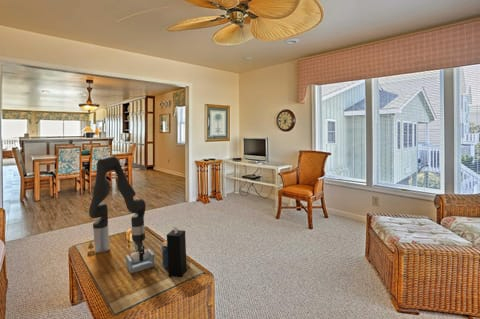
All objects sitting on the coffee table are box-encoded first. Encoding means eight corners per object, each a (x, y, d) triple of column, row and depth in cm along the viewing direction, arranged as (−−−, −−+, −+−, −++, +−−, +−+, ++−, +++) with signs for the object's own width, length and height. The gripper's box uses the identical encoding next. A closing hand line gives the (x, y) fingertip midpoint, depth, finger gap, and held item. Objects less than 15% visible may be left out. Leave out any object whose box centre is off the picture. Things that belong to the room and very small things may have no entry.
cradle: (126, 266, 160) (125, 255, 159) (149, 259, 168) (148, 248, 168) (130, 273, 152) (129, 261, 151) (154, 266, 160) (153, 254, 160)
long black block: (181, 277, 147) (179, 230, 144) (168, 276, 148) (166, 229, 145) (186, 270, 155) (185, 225, 151) (174, 269, 156) (172, 224, 153)
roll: (133, 261, 154) (131, 252, 156) (131, 264, 158) (129, 254, 160) (149, 257, 159) (147, 248, 161) (147, 259, 163) (145, 250, 165)
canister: (170, 257, 170) (169, 231, 169) (187, 260, 166) (186, 234, 164) (158, 267, 158) (156, 240, 156) (176, 271, 154) (175, 242, 152)
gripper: (128, 230, 161) (130, 256, 163) (135, 237, 150) (136, 265, 152) (141, 227, 166) (142, 252, 168) (148, 234, 154) (149, 261, 156)
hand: (140, 258), depth 160 cm, fingers closed on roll, 5 cm apart
